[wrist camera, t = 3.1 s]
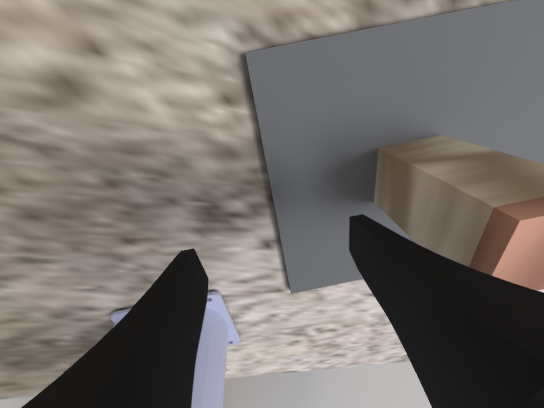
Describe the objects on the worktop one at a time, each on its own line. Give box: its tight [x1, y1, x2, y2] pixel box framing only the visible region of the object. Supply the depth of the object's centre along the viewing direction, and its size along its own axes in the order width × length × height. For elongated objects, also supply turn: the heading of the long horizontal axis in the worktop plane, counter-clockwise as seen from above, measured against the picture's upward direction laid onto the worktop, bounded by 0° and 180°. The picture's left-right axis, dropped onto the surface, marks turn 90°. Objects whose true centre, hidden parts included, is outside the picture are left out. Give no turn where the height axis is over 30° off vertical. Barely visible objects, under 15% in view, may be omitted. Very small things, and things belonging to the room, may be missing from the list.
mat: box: [245, 0, 544, 294], centre depth 15 cm, size 22×18×1 cm
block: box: [374, 135, 544, 290], centre depth 11 cm, size 4×4×8 cm
